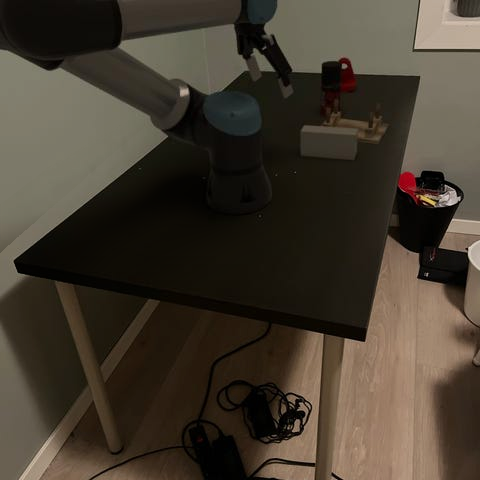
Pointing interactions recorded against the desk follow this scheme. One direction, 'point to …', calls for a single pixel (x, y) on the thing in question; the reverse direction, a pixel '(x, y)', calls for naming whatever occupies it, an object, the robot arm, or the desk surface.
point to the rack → (359, 124)
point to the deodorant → (330, 85)
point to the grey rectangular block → (329, 142)
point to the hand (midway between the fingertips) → (272, 86)
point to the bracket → (347, 77)
